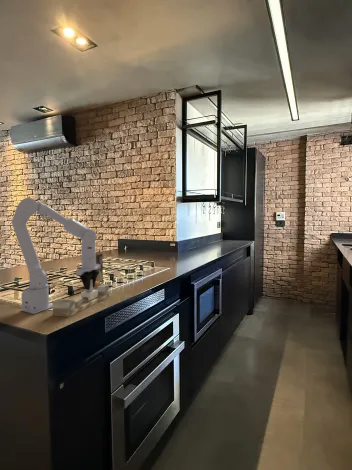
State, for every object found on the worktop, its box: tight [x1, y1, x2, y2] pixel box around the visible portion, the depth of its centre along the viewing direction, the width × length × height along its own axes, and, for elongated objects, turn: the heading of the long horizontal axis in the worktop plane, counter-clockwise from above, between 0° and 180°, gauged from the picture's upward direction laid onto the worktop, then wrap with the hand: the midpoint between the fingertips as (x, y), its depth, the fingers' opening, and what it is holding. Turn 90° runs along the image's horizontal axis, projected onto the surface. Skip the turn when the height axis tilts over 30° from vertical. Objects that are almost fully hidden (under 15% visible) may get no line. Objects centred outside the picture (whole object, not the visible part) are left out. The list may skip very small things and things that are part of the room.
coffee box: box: [96, 253, 104, 282], centre depth 154 cm, size 9×6×16 cm
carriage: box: [80, 279, 98, 301], centre depth 126 cm, size 6×4×8 cm
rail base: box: [51, 283, 110, 318], centre depth 123 cm, size 28×7×5 cm, turn 161°
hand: (89, 288), depth 126 cm, fingers closed on carriage, 3 cm apart
